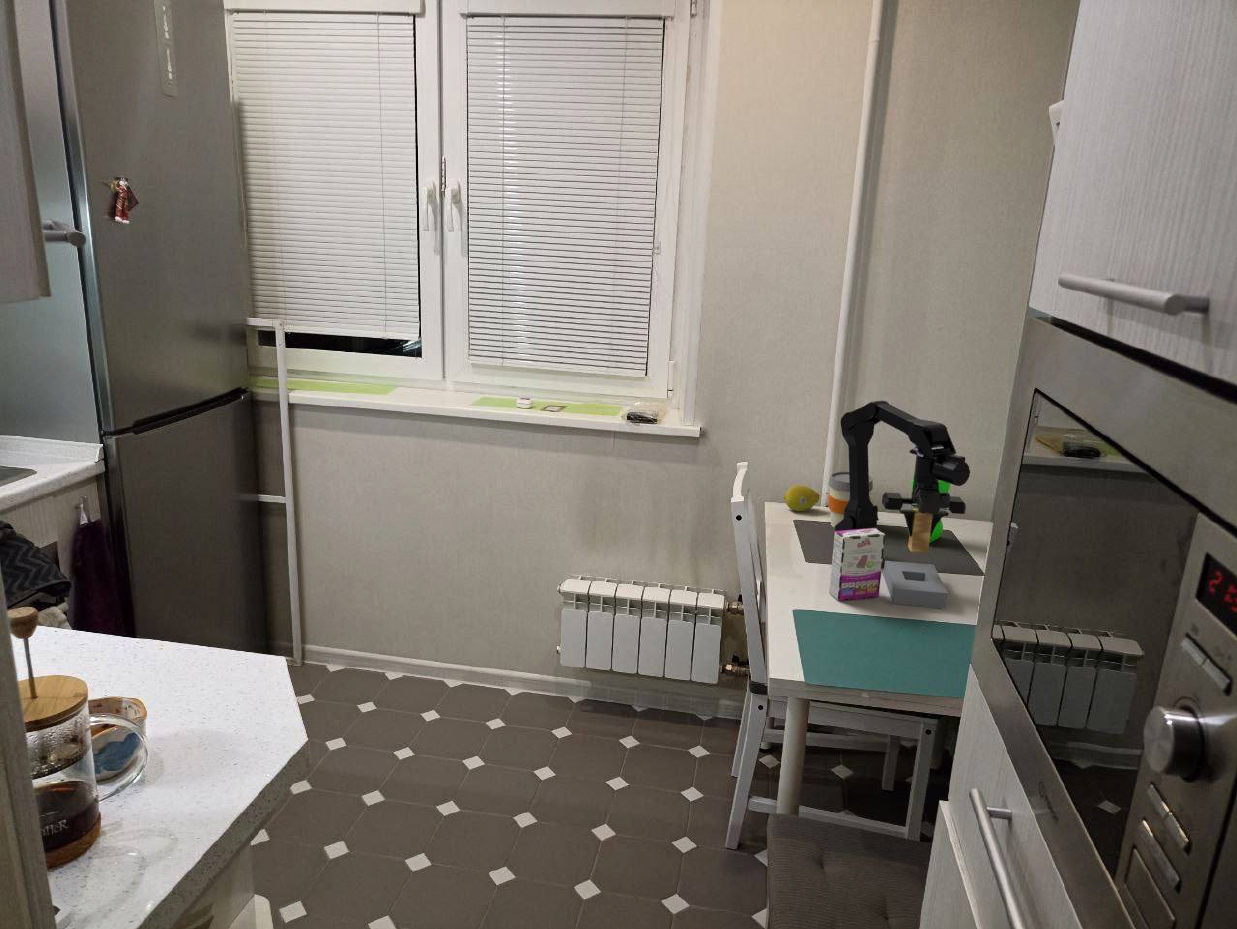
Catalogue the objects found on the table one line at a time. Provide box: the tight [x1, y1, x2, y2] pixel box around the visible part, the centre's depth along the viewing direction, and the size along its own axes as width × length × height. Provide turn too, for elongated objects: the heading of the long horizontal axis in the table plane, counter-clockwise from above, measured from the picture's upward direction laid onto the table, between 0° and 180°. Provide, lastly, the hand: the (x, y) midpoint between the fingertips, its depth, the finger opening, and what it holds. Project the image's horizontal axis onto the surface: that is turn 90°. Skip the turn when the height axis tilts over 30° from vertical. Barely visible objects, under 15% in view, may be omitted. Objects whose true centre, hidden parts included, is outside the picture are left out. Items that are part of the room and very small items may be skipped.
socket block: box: [882, 560, 949, 610], centre depth 222 cm, size 12×18×4 cm, turn 171°
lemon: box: [783, 484, 820, 512], centre depth 279 cm, size 11×8×8 cm
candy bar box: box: [829, 527, 886, 602], centre depth 216 cm, size 11×5×16 cm, turn 105°
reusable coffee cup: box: [828, 471, 874, 529], centre depth 266 cm, size 13×13×15 cm
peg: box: [907, 507, 933, 554], centre depth 221 cm, size 4×4×10 cm
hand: (919, 536), depth 221 cm, fingers closed on peg, 4 cm apart
